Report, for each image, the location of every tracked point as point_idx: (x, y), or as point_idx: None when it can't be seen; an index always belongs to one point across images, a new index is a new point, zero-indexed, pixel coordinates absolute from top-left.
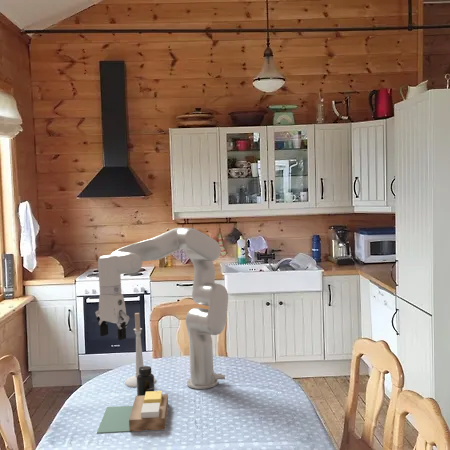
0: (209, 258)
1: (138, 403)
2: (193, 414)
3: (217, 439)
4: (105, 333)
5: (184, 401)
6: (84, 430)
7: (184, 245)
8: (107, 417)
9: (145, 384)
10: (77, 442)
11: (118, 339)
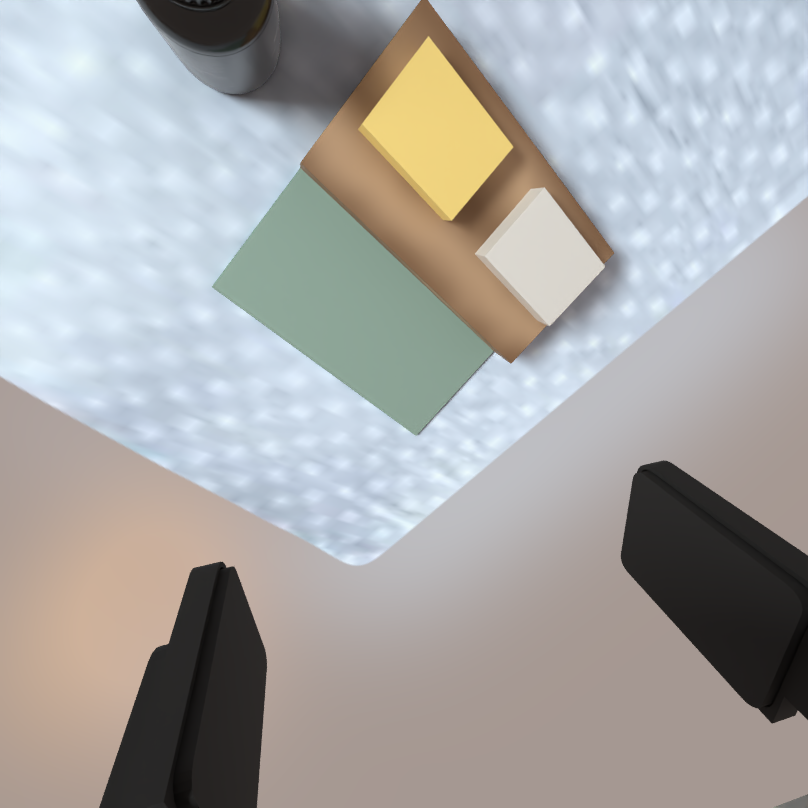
0: None
1: (403, 226)
2: (594, 39)
3: (780, 171)
4: (243, 628)
5: None
6: (361, 453)
7: None
8: (327, 347)
9: (266, 37)
10: (422, 499)
11: (634, 568)
